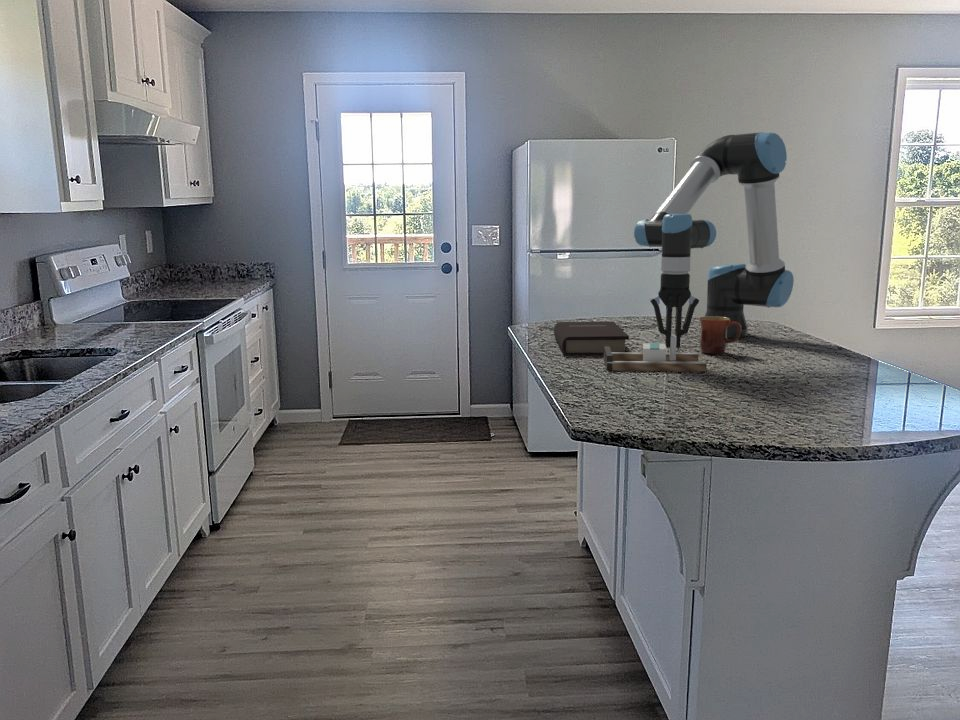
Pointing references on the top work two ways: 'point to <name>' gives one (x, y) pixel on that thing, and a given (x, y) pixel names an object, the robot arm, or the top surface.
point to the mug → (716, 334)
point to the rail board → (651, 362)
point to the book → (589, 337)
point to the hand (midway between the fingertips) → (672, 359)
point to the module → (654, 352)
